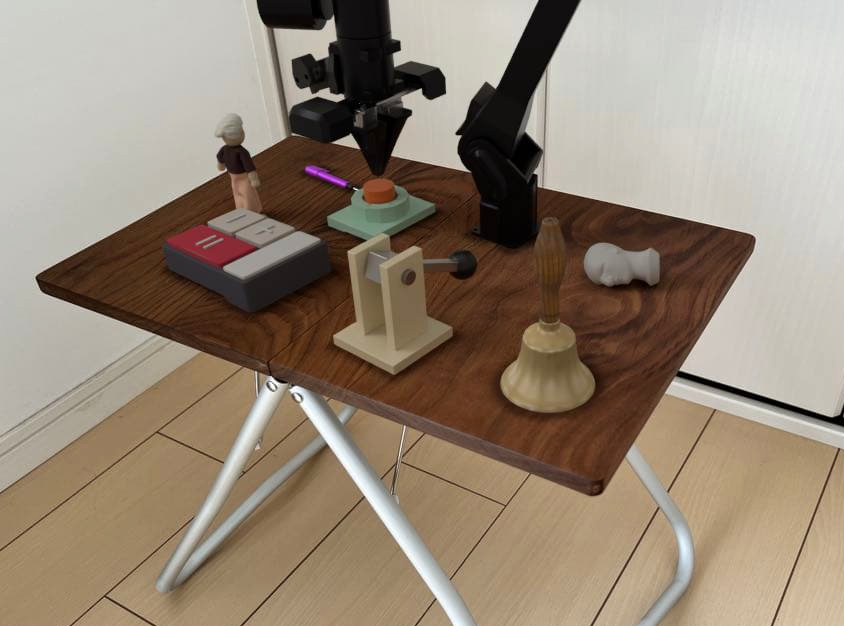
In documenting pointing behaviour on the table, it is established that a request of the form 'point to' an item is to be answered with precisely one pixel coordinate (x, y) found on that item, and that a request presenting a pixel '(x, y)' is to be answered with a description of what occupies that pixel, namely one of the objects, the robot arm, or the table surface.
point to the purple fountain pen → (328, 177)
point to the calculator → (248, 258)
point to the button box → (380, 215)
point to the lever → (427, 264)
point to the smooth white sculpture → (621, 265)
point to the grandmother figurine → (238, 163)
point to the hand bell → (548, 341)
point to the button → (379, 191)
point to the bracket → (390, 310)
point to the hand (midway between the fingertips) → (378, 175)
